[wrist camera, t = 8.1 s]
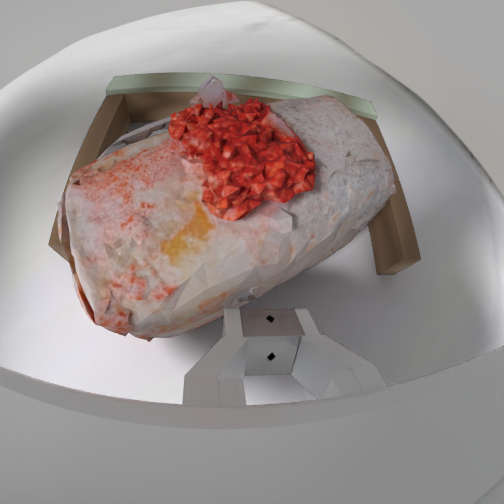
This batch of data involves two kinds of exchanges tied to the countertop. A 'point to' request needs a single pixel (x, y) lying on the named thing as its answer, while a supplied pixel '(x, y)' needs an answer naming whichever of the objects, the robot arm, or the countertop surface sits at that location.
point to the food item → (217, 208)
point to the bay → (244, 87)
